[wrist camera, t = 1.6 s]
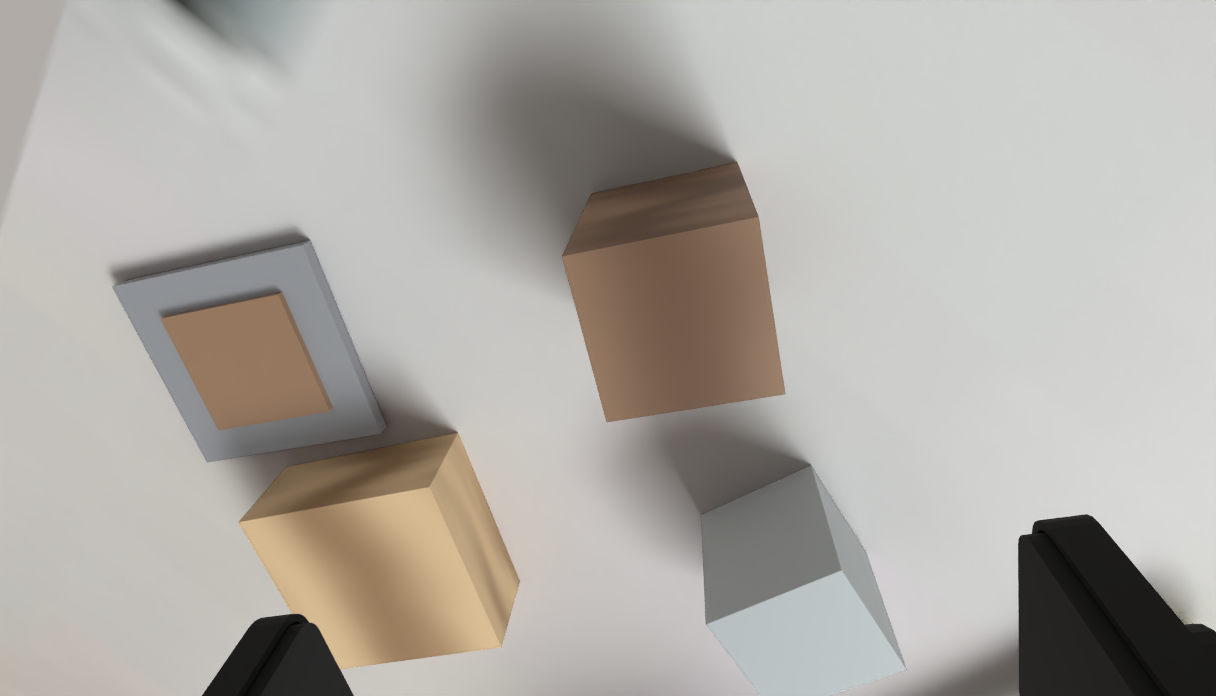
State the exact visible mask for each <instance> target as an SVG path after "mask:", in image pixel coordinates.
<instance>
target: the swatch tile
mask: <svg viewBox="0 0 1216 696" xmlns="http://www.w3.org/2000/svg"><path fill="white" fill-rule="evenodd" d="M113 289H114V291H115V293H116V295H117V297H118V298H119V300H120V302H121V304H122V306H123V308H124V310H125V311H126V313H127V315H128V317H129V319H130V321H131V323H132V324H133V326H134V328H135V330H136V332H137V334H138V336H139V337H140V339H141V341H142V343H143V345H144V347H145V348H146V350H147V352H148V354H149V356H150V358H151V360H152V361H153V363H154V365H155V367H156V369H157V371H158V373H159V374H160V376H161V378H162V380H163V382H164V384H165V386H166V387H167V389H168V391H169V393H170V395H171V397H172V398H173V400H174V402H175V404H176V406H177V408H178V410H179V411H180V413H181V415H182V417H183V419H184V421H185V423H186V424H187V426H188V428H189V430H190V432H191V434H192V436H193V437H194V439H195V441H196V443H197V445H198V447H199V448H200V450H201V452H202V454H203V456H204V458H205V460H206V461H207V462H213V461H219V460H225V459H231V458H237V457H243V456H249V455H255V454H261V453H267V452H274V451H280V450H286V449H292V448H298V447H304V446H310V445H316V444H322V443H329V442H335V441H341V440H347V439H353V438H359V437H365V436H371V435H377V434H381V433H382V432H383V430H384V429H385V428H386V424H385V421H384V419H383V416H382V414H381V411H380V409H379V407H378V404H377V402H376V399H375V397H374V394H373V392H372V390H371V387H370V385H369V382H368V380H367V377H366V375H365V372H364V370H363V368H362V365H361V363H360V360H359V358H358V355H357V353H356V351H355V348H354V346H353V343H352V341H351V338H350V336H349V334H348V331H347V329H346V326H345V324H344V321H343V319H342V317H341V314H340V312H339V309H338V307H337V304H336V302H335V300H334V297H333V295H332V292H331V290H330V287H329V285H328V283H327V280H326V278H325V275H324V273H323V270H322V268H321V266H320V263H319V261H318V258H317V256H316V253H315V251H314V249H313V246H312V244H311V241H305V242H300V243H296V244H291V245H287V246H282V247H278V248H273V249H268V250H264V251H259V252H255V253H250V254H246V255H241V256H236V257H232V258H227V259H223V260H218V261H214V262H209V263H204V264H200V265H195V266H191V267H186V268H182V269H177V270H172V271H168V272H163V273H159V274H154V275H150V276H145V277H140V278H136V279H131V280H127V281H123V282H121V283H119V284H117V285H115V286H113Z"/></svg>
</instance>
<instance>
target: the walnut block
mask: <svg viewBox="0 0 1216 696" xmlns="http://www.w3.org/2000/svg"><path fill="white" fill-rule="evenodd" d="M562 258H563V262H564V266H565V269H566V273H567V277H568V281H569V284H570V288H571V292H572V296H573V299H574V303H575V307H576V310H577V314H578V318H579V322H580V325H581V329H582V333H583V336H584V340H585V344H586V348H587V351H588V355H589V359H590V362H591V366H592V370H593V374H594V377H595V381H596V385H597V388H598V392H599V396H600V400H601V403H602V407H603V411H604V415H605V418H606V422H612V421H618V420H625V419H631V418H637V417H644V416H650V415H656V414H663V413H669V412H675V411H682V410H688V409H694V408H701V407H707V406H713V405H720V404H726V403H733V402H739V401H745V400H752V399H758V398H764V397H771V396H777V395H783V394H785V389H784V382H783V375H782V369H781V362H780V356H779V349H778V342H777V336H776V329H775V323H774V316H773V309H772V303H771V296H770V289H769V283H768V276H767V270H766V263H765V256H764V250H763V243H762V236H761V230H760V223H759V217H758V214H757V212H756V209H755V206H754V204H753V201H752V199H751V196H750V194H749V191H748V188H747V186H746V183H745V181H744V178H743V175H742V173H741V170H740V168H739V165H738V163H737V162H736V163H731V164H727V165H722V166H717V167H713V168H708V169H704V170H699V171H694V172H690V173H685V174H680V175H676V176H671V177H666V178H662V179H657V180H652V181H648V182H643V183H638V184H634V185H629V186H625V187H620V188H615V189H611V190H606V191H601V192H597V193H592V194H591V196H590V198H589V200H588V202H587V204H586V206H585V208H584V211H583V213H582V215H581V217H580V219H579V221H578V223H577V225H576V228H575V230H574V232H573V234H572V236H571V238H570V240H569V243H568V245H567V247H566V249H565V251H564V253H563V255H562Z"/></svg>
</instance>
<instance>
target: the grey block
mask: <svg viewBox="0 0 1216 696" xmlns="http://www.w3.org/2000/svg"><path fill="white" fill-rule="evenodd" d="M701 525H702V548H703V571H704V594H705V618H706V626H707V627H708V628H709V630H710V631H711V632H712V633H713V635H714V636H715V637H716V639H717V640H718V641H719V643H720V644H721V645H722V647H723V648H724V649H725V650H726V652H727V653H728V654H729V656H730V657H731V658H732V660H733V661H734V662H735V664H736V665H737V666H738V667H739V669H740V670H741V671H742V673H743V674H744V675H745V677H746V678H747V679H748V681H749V682H750V683H751V684H752V686H753V687H754V688H755V690H756V691H757V692H758V694H759V695H760V696H832V695H835V694H838V693H841V692H844V691H847V690H850V689H852V688H855V687H858V686H861V685H864V684H867V683H870V682H873V681H876V680H879V679H881V678H884V677H887V676H890V675H893V674H896V673H899V672H902V671H905V670H907V669H906V666H905V664H904V661H903V658H902V655H901V652H900V649H899V646H898V643H897V640H896V637H895V635H894V632H893V629H892V626H891V623H890V620H889V617H888V614H887V611H886V608H885V605H884V603H883V600H882V597H881V594H880V591H879V588H878V585H877V582H876V579H875V576H874V573H873V571H872V568H871V565H870V562H869V559H868V556H867V553H866V551H865V549H864V548H863V546H862V545H861V543H860V542H859V540H858V538H857V537H856V535H855V534H854V532H853V530H852V529H851V527H850V526H849V524H848V522H847V521H846V519H845V518H844V516H843V515H842V513H841V511H840V510H839V508H838V507H837V505H836V503H835V502H834V500H833V499H832V497H831V495H830V494H829V492H828V491H827V489H826V488H825V486H824V484H823V483H822V481H821V480H820V478H819V476H818V475H817V473H816V472H815V470H814V468H813V467H812V465H810V466H808V467H806V468H803V469H801V470H799V471H797V472H795V473H792V474H790V475H788V476H786V477H783V478H781V479H779V480H777V481H775V482H772V483H770V484H768V485H766V486H764V487H761V488H759V489H757V490H755V491H753V492H750V493H748V494H746V495H744V496H742V497H739V498H737V499H735V500H733V501H731V502H728V503H726V504H724V505H722V506H720V507H717V508H715V509H713V510H711V511H709V512H706V513H704V514H702V515H701Z"/></svg>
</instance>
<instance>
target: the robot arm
mask: <svg viewBox="0 0 1216 696" xmlns="http://www.w3.org/2000/svg"><path fill="white" fill-rule="evenodd" d="M1018 579H1019V694H1020V696H1216V632H1215V631H1214V630H1212V629H1210V628H1208V627H1207V626H1205V625H1203V624H1187V625H1184V624H1183V623H1182V621H1181V620H1180V619H1179V618H1178V617H1177V615H1176V614H1175V613H1174V612H1173V611H1172V609H1171V608H1170V607H1169V606H1168V605H1167V604H1166V602H1165V601H1164V600H1163V599H1162V598H1161V596H1160V595H1159V594H1158V593H1157V592H1156V590H1155V589H1154V588H1153V587H1152V586H1151V584H1150V583H1149V582H1148V581H1147V580H1146V578H1145V577H1144V576H1143V575H1142V574H1141V573H1140V571H1139V570H1138V569H1137V568H1136V567H1135V565H1134V564H1133V563H1132V562H1131V561H1130V559H1129V558H1128V557H1127V556H1126V555H1125V553H1124V552H1123V551H1122V550H1121V549H1120V548H1119V546H1118V545H1117V544H1116V543H1115V542H1114V540H1113V539H1112V538H1111V537H1110V536H1109V534H1108V533H1107V532H1106V531H1105V530H1104V528H1103V527H1102V526H1101V525H1100V524H1099V522H1097V521H1096V520H1095V519H1094V518H1093V517H1092V516H1089V515H1087V514H1086V515H1078V516H1070V517H1062V518H1054V519H1046V520H1039V521H1036V522H1035V523H1034V525H1033V529H1032V534H1028V535H1022V536H1020V538H1019V543H1018ZM202 696H354V695H353V694H352V692H351V690H350V688H349V686H348V684H347V682H346V680H345V678H344V676H343V674H342V672H341V670H340V668H339V667H338V665H337V663H336V661H335V659H334V657H333V655H332V653H331V651H330V649H329V647H328V645H327V643H326V641H325V639H324V638H323V636H322V634H321V632H320V630H319V628H318V627H317V626H316V625H315V624H314V623H309V621H308V620H307V619H306V617H305V616H303V615H301V614H289V615H281V616H273V617H265V618H260V619H258V620H256V621H255V622H254V623H253V624H252V625H251V626H250V627H249V628H248V630H247V631H246V633H245V634H244V636H243V637H242V639H241V640H240V641H239V643H238V644H237V646H236V647H235V649H234V650H233V652H232V653H231V654H230V656H229V657H228V659H227V660H226V662H225V663H224V665H223V666H222V668H221V669H220V670H219V672H218V673H217V675H216V676H215V678H214V679H213V681H212V682H211V683H210V685H209V686H208V688H207V689H206V691H205V692H204V694H203V695H202Z"/></svg>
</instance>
